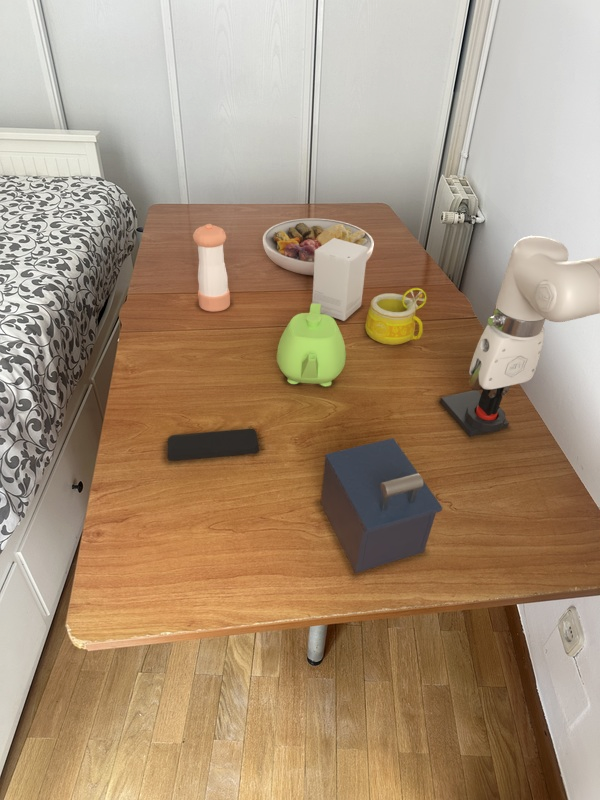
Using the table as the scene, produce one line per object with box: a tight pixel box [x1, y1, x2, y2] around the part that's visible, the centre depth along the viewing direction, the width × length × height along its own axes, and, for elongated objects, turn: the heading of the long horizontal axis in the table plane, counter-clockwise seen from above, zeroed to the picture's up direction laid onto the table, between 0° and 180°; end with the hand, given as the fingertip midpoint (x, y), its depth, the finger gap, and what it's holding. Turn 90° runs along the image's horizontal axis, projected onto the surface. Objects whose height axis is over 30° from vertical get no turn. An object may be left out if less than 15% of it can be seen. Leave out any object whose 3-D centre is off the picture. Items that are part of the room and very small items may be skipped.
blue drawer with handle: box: [324, 437, 443, 533], centre depth 70 cm, size 13×11×5 cm
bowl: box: [262, 217, 375, 277], centre depth 146 cm, size 30×30×8 cm
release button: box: [475, 405, 498, 421], centre depth 95 cm, size 4×4×2 cm
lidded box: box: [320, 458, 437, 574], centre depth 75 cm, size 13×11×10 cm
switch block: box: [439, 390, 510, 437], centre depth 97 cm, size 11×8×3 cm
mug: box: [364, 287, 427, 346], centre depth 114 cm, size 13×11×12 cm
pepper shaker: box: [192, 223, 231, 312], centre depth 120 cm, size 7×7×19 cm
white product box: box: [311, 238, 368, 322], centre depth 122 cm, size 9×9×15 cm
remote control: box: [166, 428, 260, 462], centre depth 89 cm, size 5×2×15 cm
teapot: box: [276, 302, 347, 387], centre depth 103 cm, size 20×13×13 cm
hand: (487, 409), depth 94 cm, fingers closed
